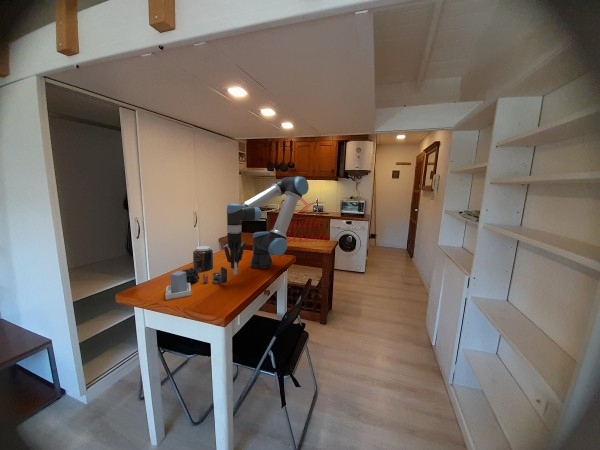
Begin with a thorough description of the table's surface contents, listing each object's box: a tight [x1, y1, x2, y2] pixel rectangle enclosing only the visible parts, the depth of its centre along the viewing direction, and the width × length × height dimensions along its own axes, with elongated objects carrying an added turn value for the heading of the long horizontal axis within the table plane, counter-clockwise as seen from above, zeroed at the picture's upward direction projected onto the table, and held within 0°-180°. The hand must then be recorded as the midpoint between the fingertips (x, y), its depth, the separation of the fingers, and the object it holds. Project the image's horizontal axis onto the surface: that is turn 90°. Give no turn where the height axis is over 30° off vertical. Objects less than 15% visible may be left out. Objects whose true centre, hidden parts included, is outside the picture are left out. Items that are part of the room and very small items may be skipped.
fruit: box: [181, 267, 200, 283], centre depth 125 cm, size 9×8×15 cm
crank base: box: [202, 273, 222, 285], centre depth 125 cm, size 9×5×5 cm, turn 118°
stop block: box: [169, 270, 187, 293], centre depth 111 cm, size 5×5×10 cm
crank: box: [212, 266, 228, 284], centre depth 122 cm, size 12×4×8 cm, turn 48°
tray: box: [164, 282, 192, 301], centre depth 112 cm, size 11×11×2 cm
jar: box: [192, 245, 214, 273], centre depth 144 cm, size 12×12×15 cm
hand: (234, 273), depth 124 cm, fingers closed
